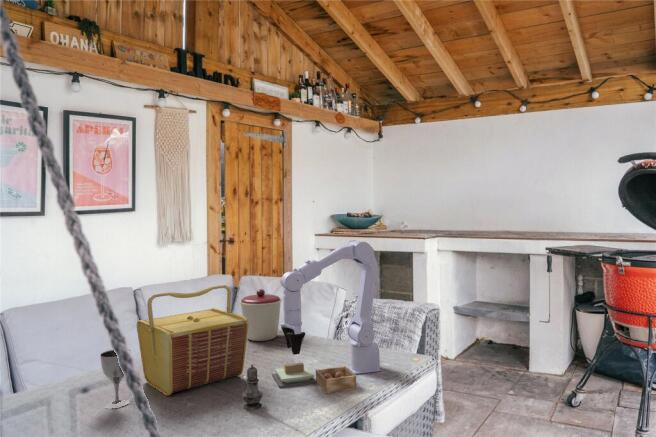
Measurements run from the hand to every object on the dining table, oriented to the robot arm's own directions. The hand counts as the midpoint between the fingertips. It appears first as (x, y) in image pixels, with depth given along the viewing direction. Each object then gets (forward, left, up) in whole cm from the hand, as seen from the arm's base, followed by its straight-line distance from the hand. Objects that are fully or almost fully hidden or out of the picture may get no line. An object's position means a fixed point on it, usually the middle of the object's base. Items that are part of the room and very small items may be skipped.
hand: (293, 350), depth 162 cm
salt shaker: (+16, +17, -10) cm, 25 cm away
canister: (+1, -54, -10) cm, 55 cm away
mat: (0, 0, -9) cm, 9 cm away
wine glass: (+53, +2, -10) cm, 54 cm away
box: (-11, +10, -9) cm, 18 cm away
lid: (0, 0, -8) cm, 8 cm away
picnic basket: (+31, -11, -10) cm, 34 cm away
